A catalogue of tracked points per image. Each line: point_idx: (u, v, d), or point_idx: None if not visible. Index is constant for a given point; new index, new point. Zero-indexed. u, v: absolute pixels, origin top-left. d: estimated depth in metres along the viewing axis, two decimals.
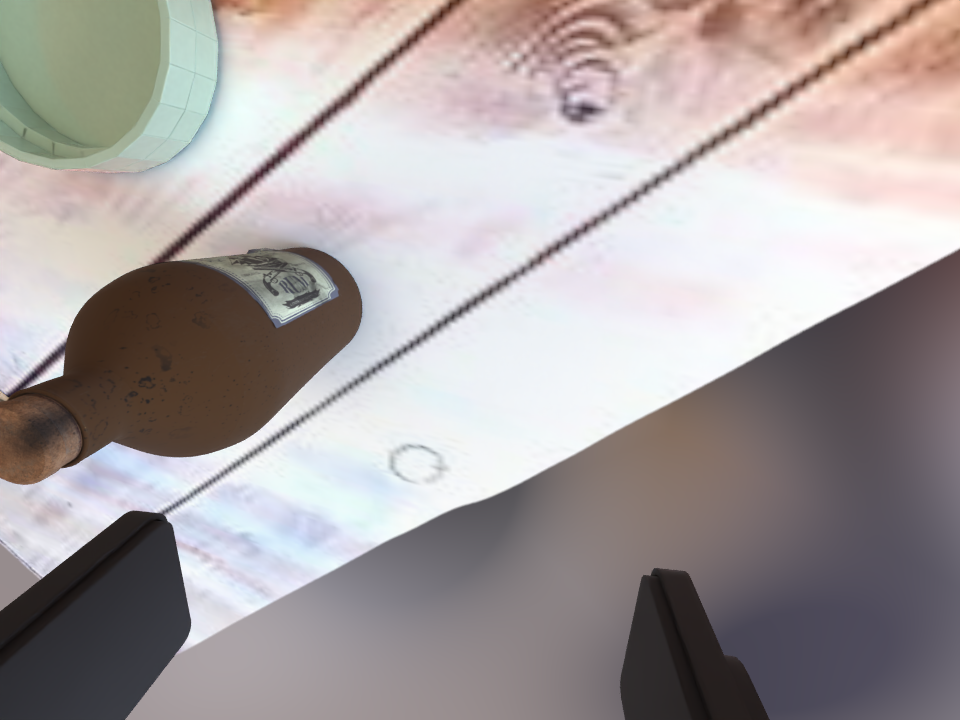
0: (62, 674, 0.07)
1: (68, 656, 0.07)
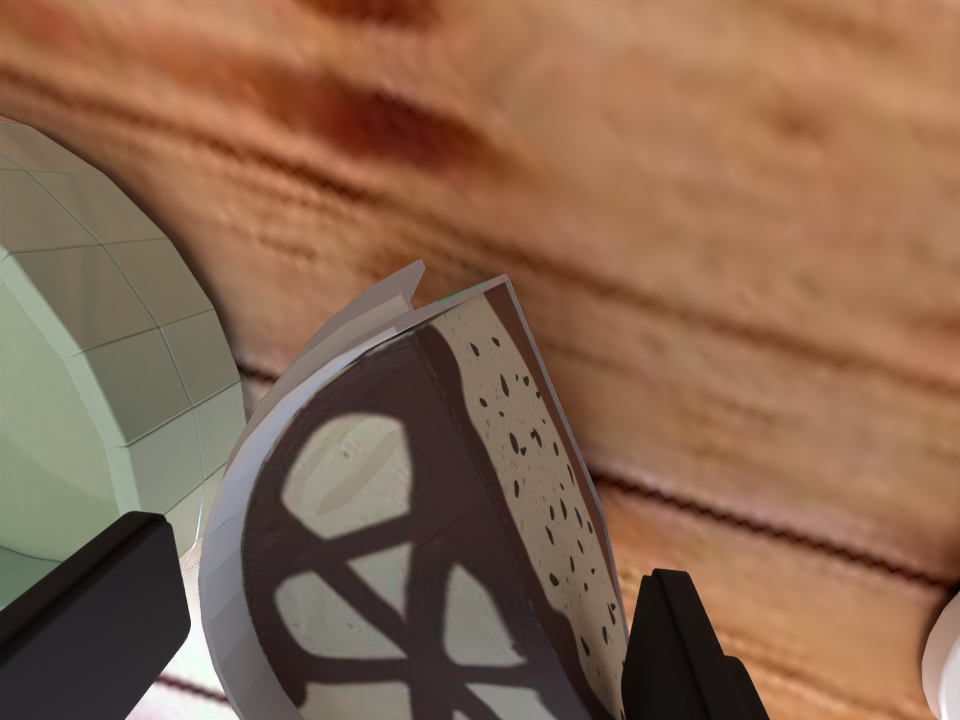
0: (62, 674, 0.07)
1: (68, 656, 0.07)
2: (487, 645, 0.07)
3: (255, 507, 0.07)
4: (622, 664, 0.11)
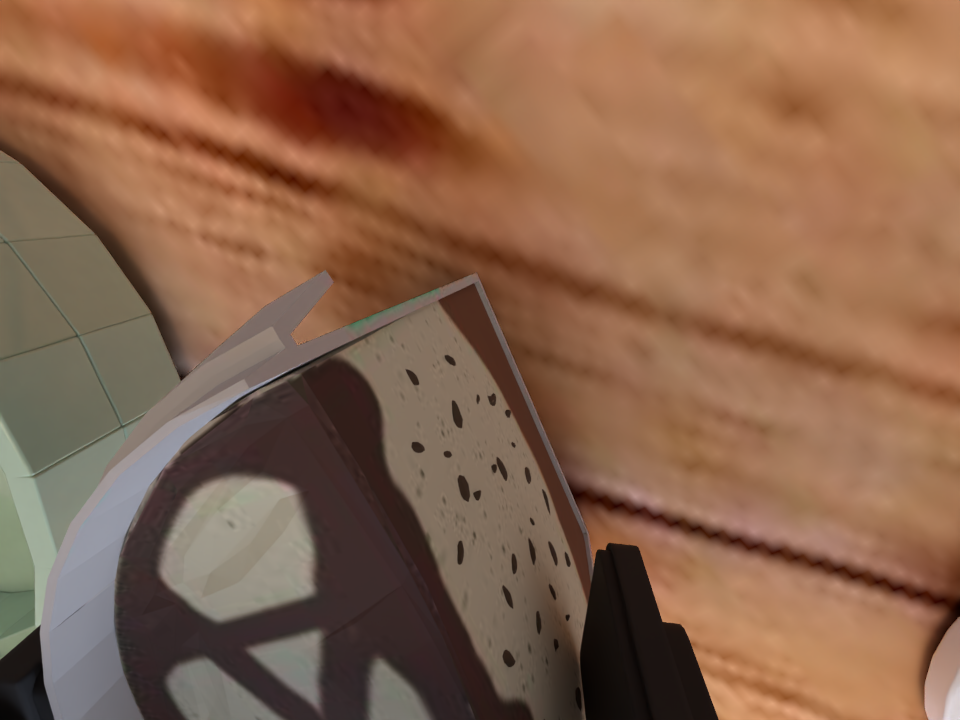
0: None
1: None
2: None
3: (125, 585, 0.06)
4: None
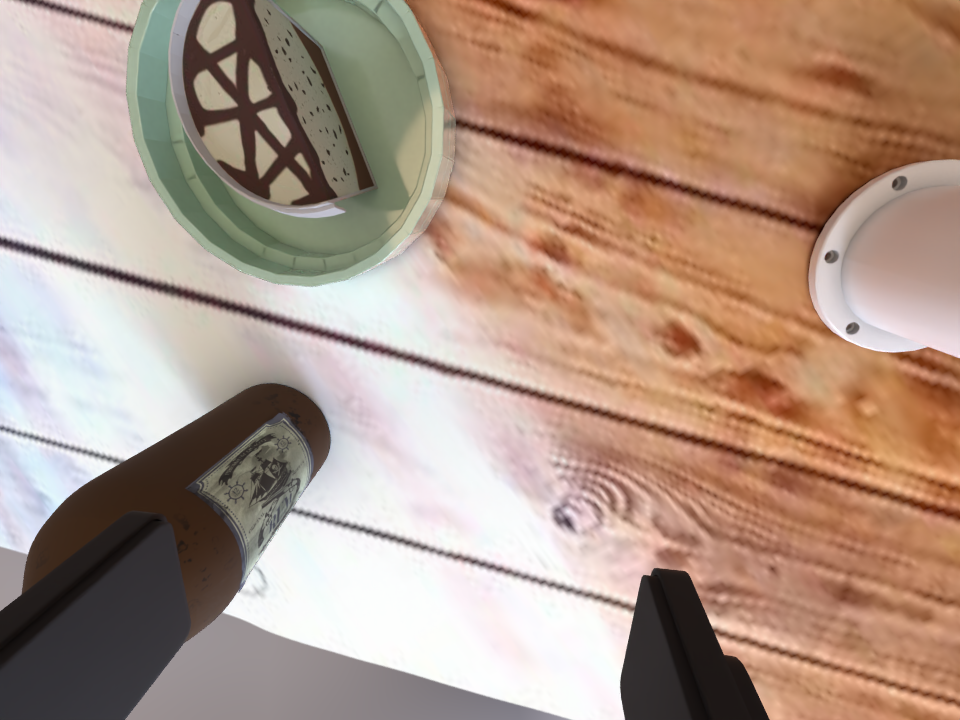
0: (62, 674, 0.07)
1: (68, 656, 0.07)
2: (260, 89, 0.23)
3: (187, 39, 0.23)
4: (340, 176, 0.27)
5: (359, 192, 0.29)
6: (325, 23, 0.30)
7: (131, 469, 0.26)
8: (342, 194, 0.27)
